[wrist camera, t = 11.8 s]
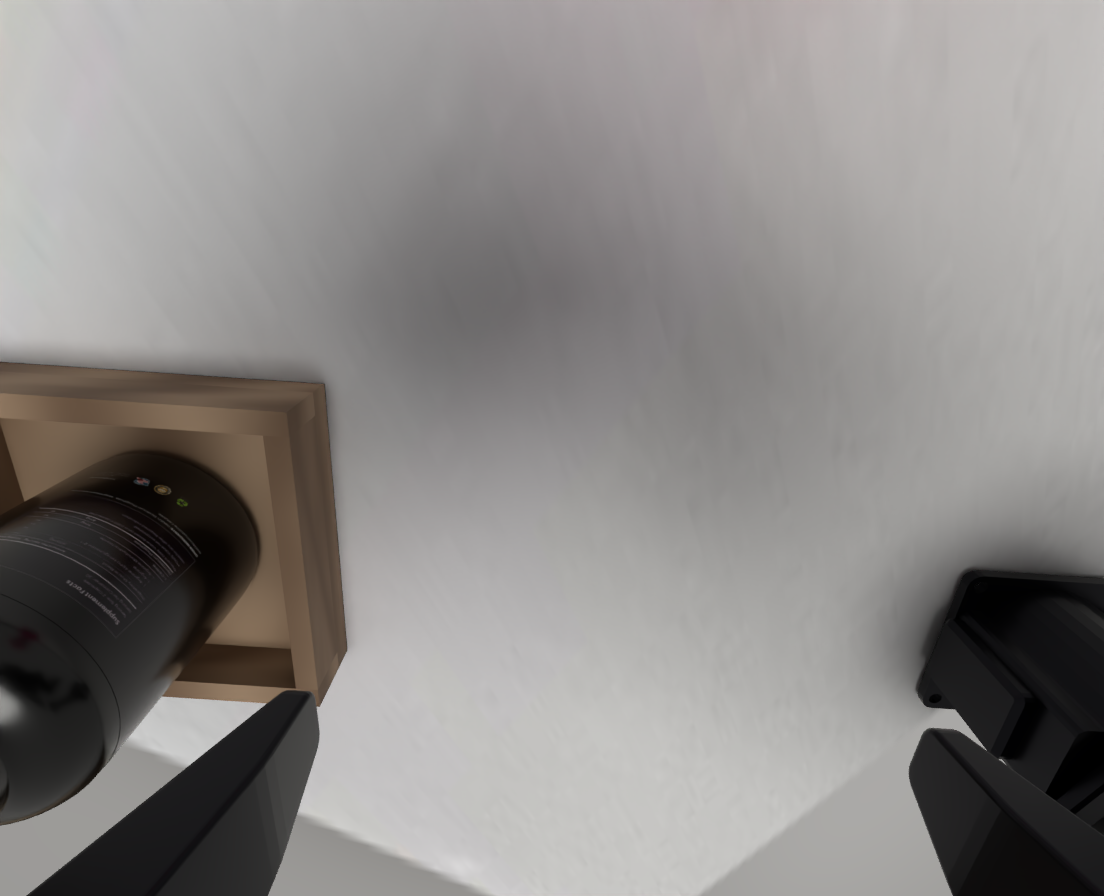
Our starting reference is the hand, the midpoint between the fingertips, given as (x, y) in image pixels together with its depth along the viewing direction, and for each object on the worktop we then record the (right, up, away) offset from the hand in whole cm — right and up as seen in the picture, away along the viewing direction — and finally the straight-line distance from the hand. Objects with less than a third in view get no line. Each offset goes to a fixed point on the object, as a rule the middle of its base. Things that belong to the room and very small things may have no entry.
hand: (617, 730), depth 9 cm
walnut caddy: (-15, +1, +14) cm, 20 cm away
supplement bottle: (-15, +1, +13) cm, 20 cm away
